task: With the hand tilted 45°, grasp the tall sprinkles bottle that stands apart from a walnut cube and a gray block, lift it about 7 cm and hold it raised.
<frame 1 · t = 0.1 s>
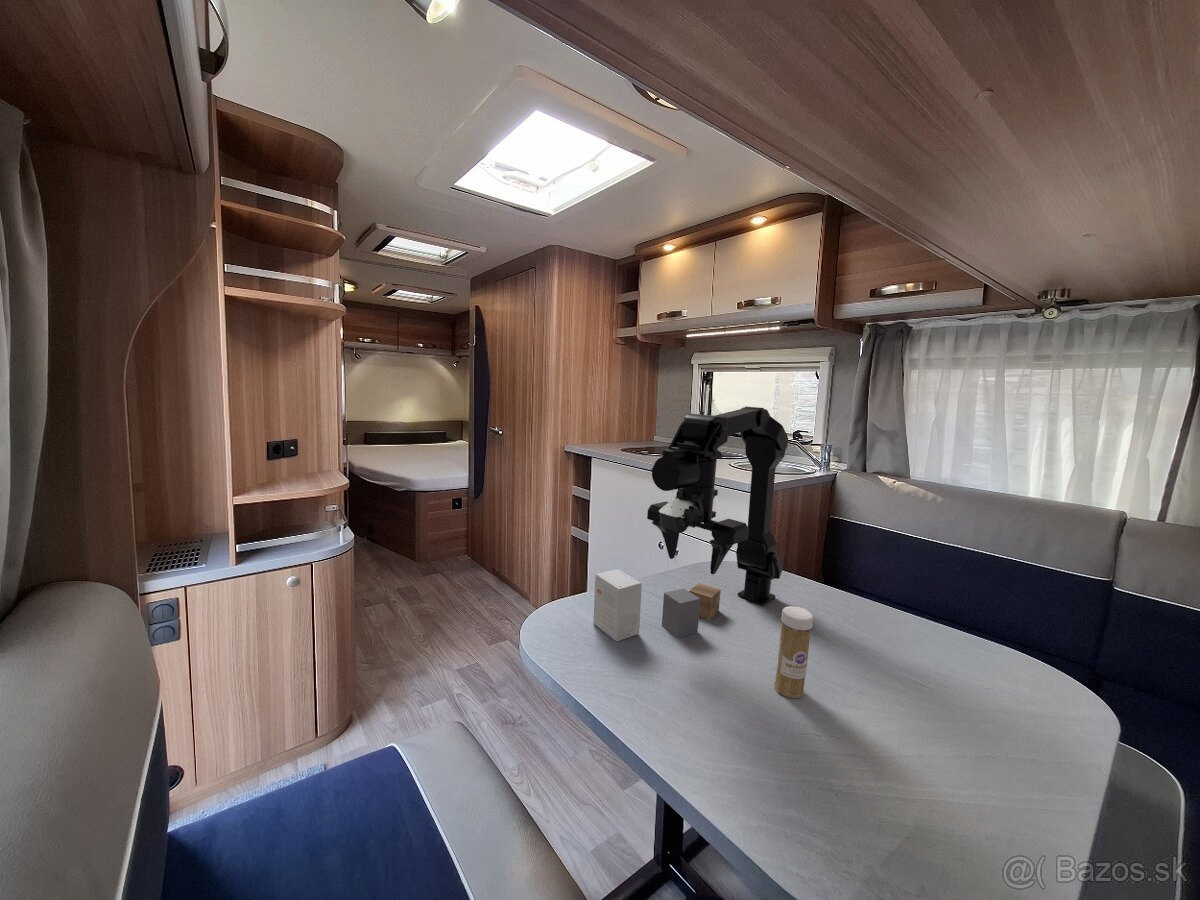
hand: (691, 565, 87), 15 cm above the table, tool pointing down, fingers open, 9 cm apart
walnut cube: (703, 611, 101), on the table
gray block: (679, 628, 93), on the table
sprinkles bottle: (788, 691, 76), on the table
small box: (615, 630, 92), on the table
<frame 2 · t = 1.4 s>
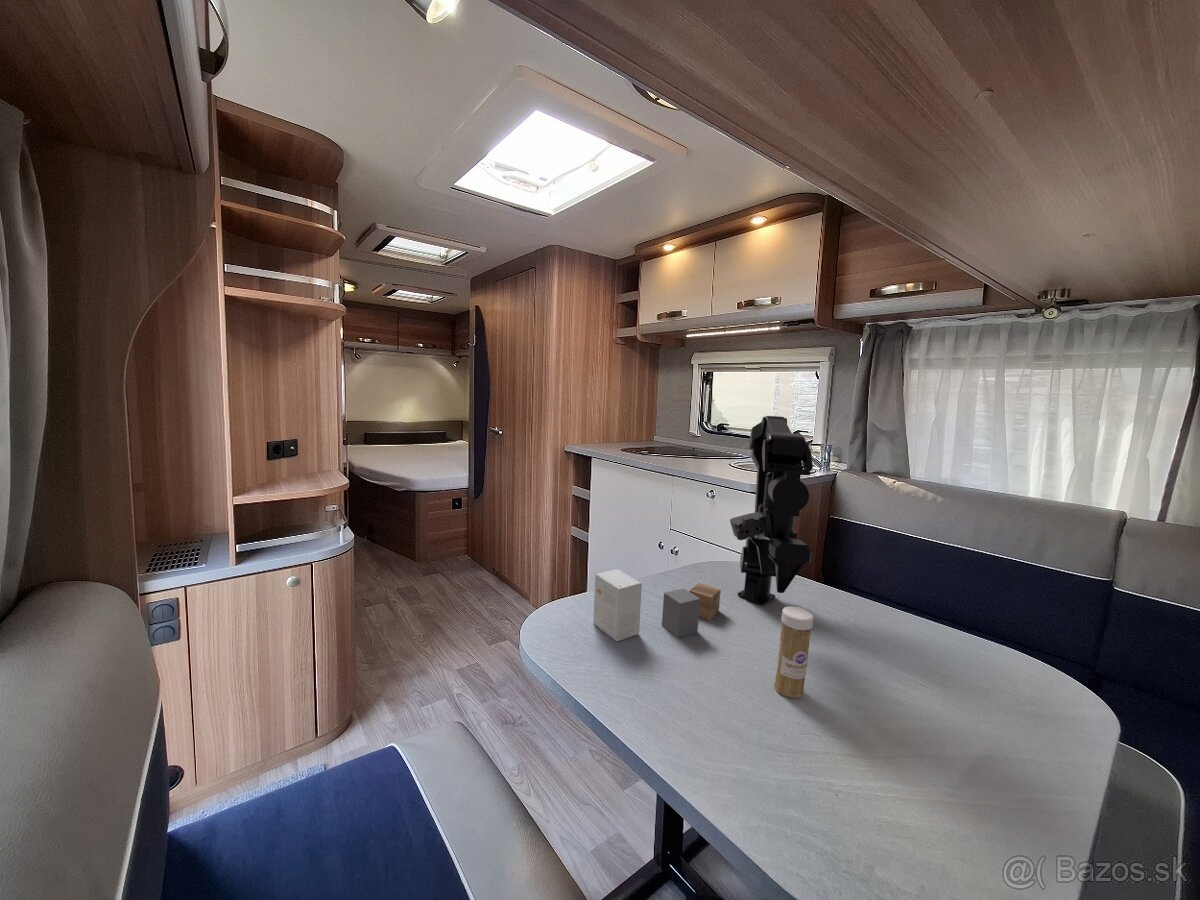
hand: (771, 583, 89), 12 cm above the table, tool pointing down, fingers open, 9 cm apart
nothing on the table moved.
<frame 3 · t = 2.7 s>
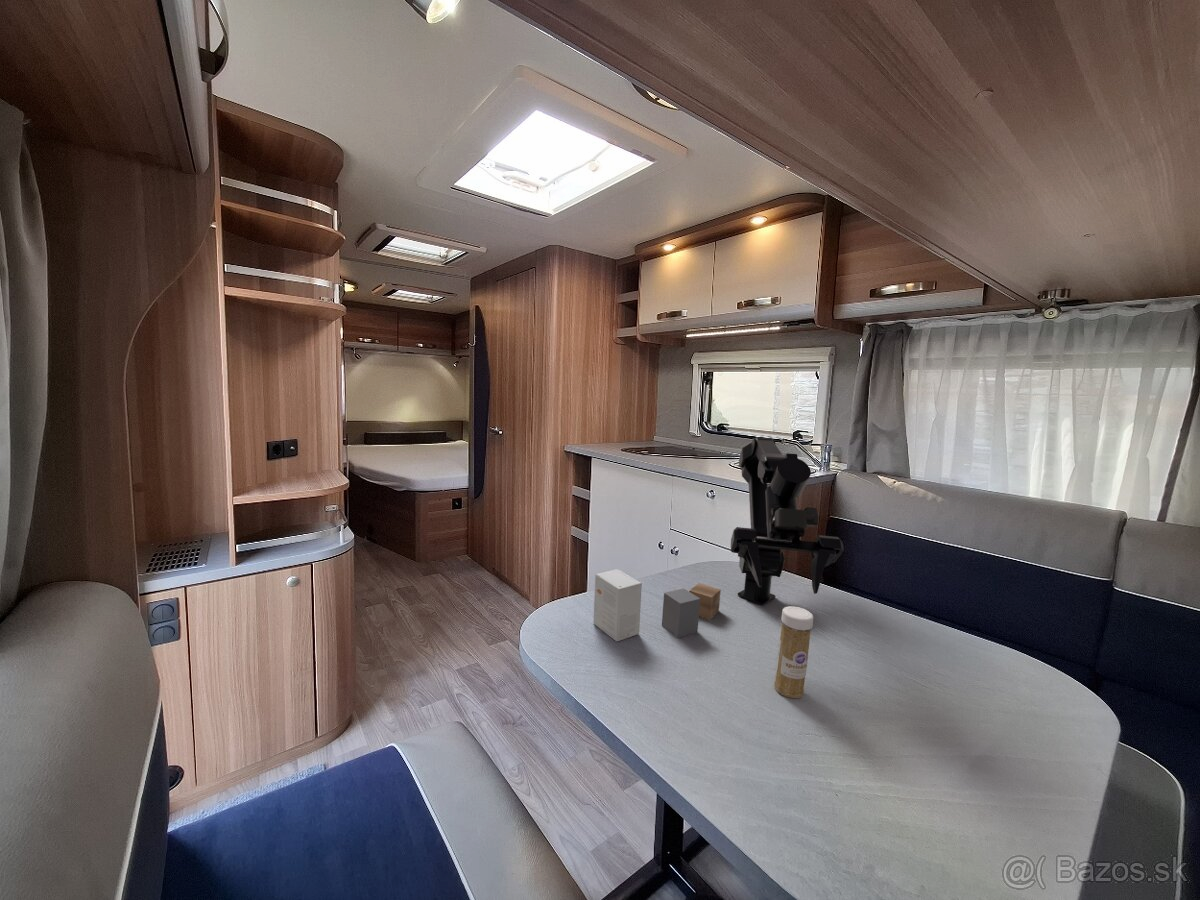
hand: (787, 589, 82), 14 cm above the table, tool tilted 45°, fingers open, 9 cm apart
nothing on the table moved.
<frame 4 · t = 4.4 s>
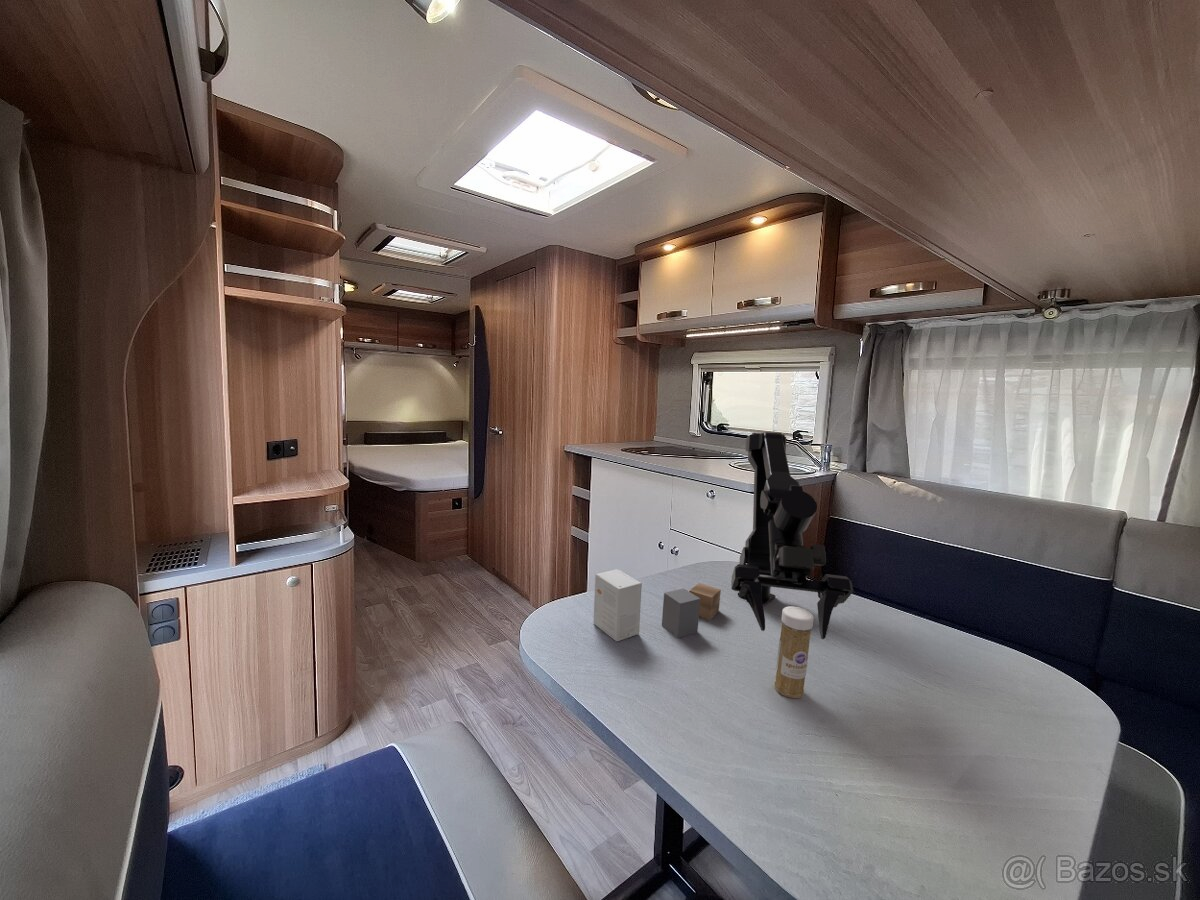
hand: (793, 634, 76), 9 cm above the table, tool tilted 45°, fingers open, 9 cm apart
nothing on the table moved.
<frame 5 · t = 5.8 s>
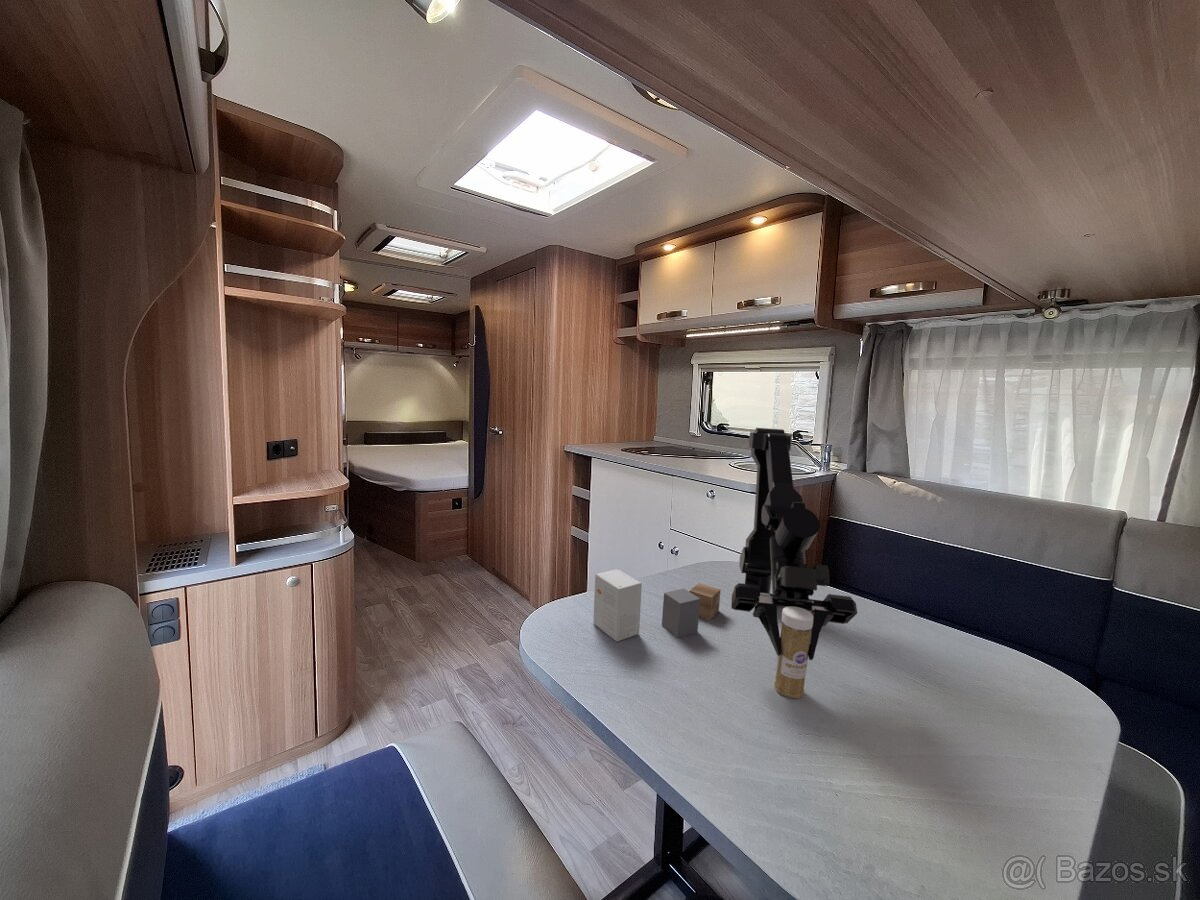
hand: (795, 657, 73), 7 cm above the table, tool tilted 45°, fingers closed on sprinkles bottle, 4 cm apart
sprinkles bottle: (788, 691, 76), on the table, touching gripper
everything else where it was.
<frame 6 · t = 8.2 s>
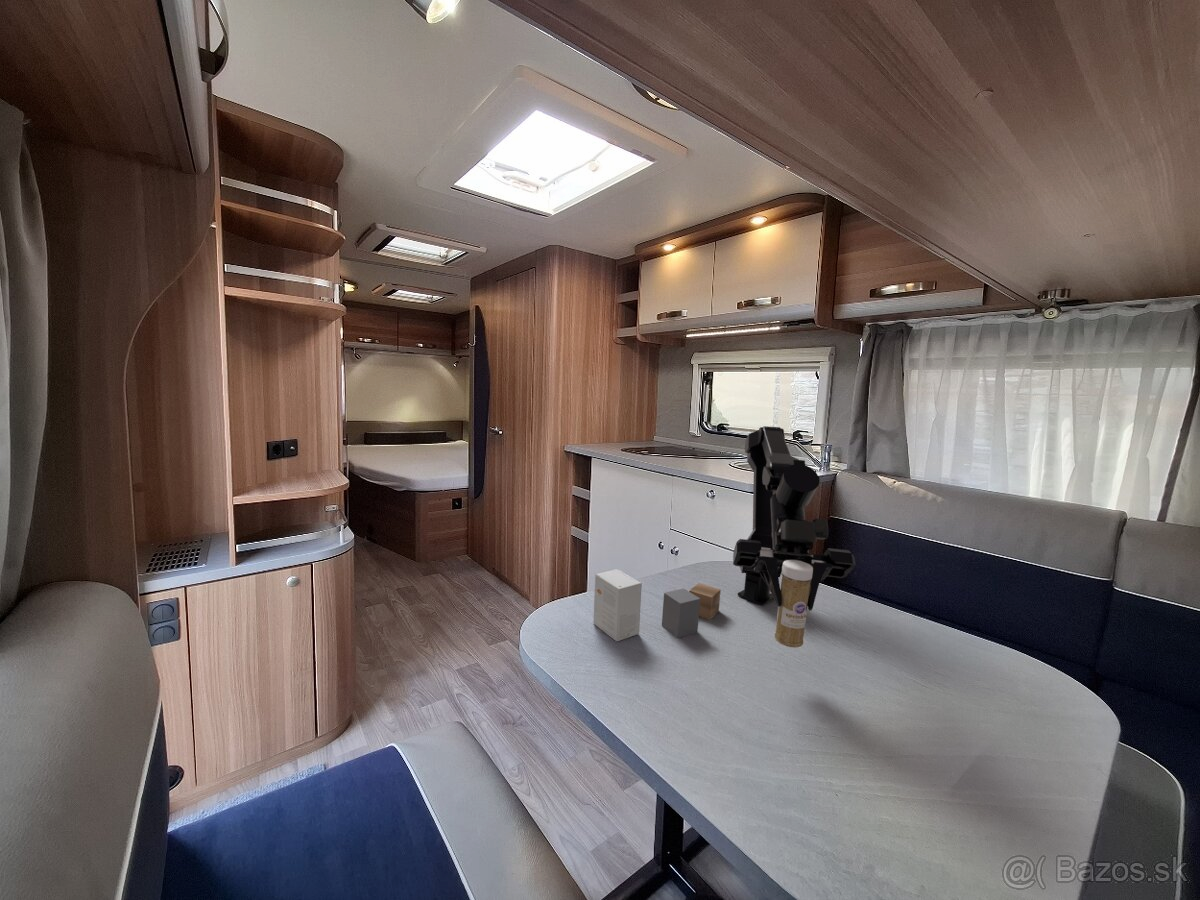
hand: (794, 607, 76), 13 cm above the table, tool tilted 45°, fingers closed on sprinkles bottle, 4 cm apart
sprinkles bottle: (788, 642, 78), point 6 cm above the table, touching gripper
everything else where it was.
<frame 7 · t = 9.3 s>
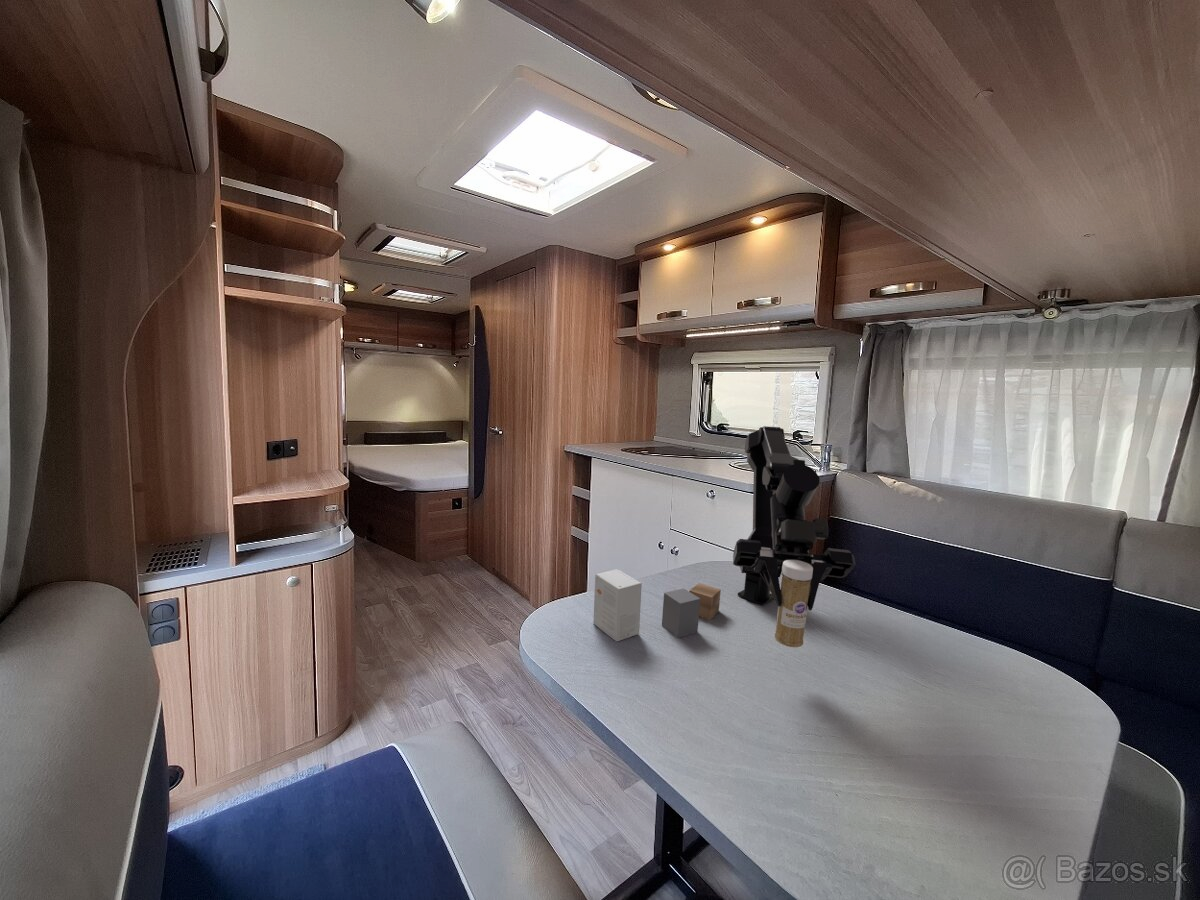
hand: (794, 607, 76), 13 cm above the table, tool tilted 45°, fingers closed on sprinkles bottle, 4 cm apart
sprinkles bottle: (788, 642, 78), point 6 cm above the table, touching gripper
everything else where it was.
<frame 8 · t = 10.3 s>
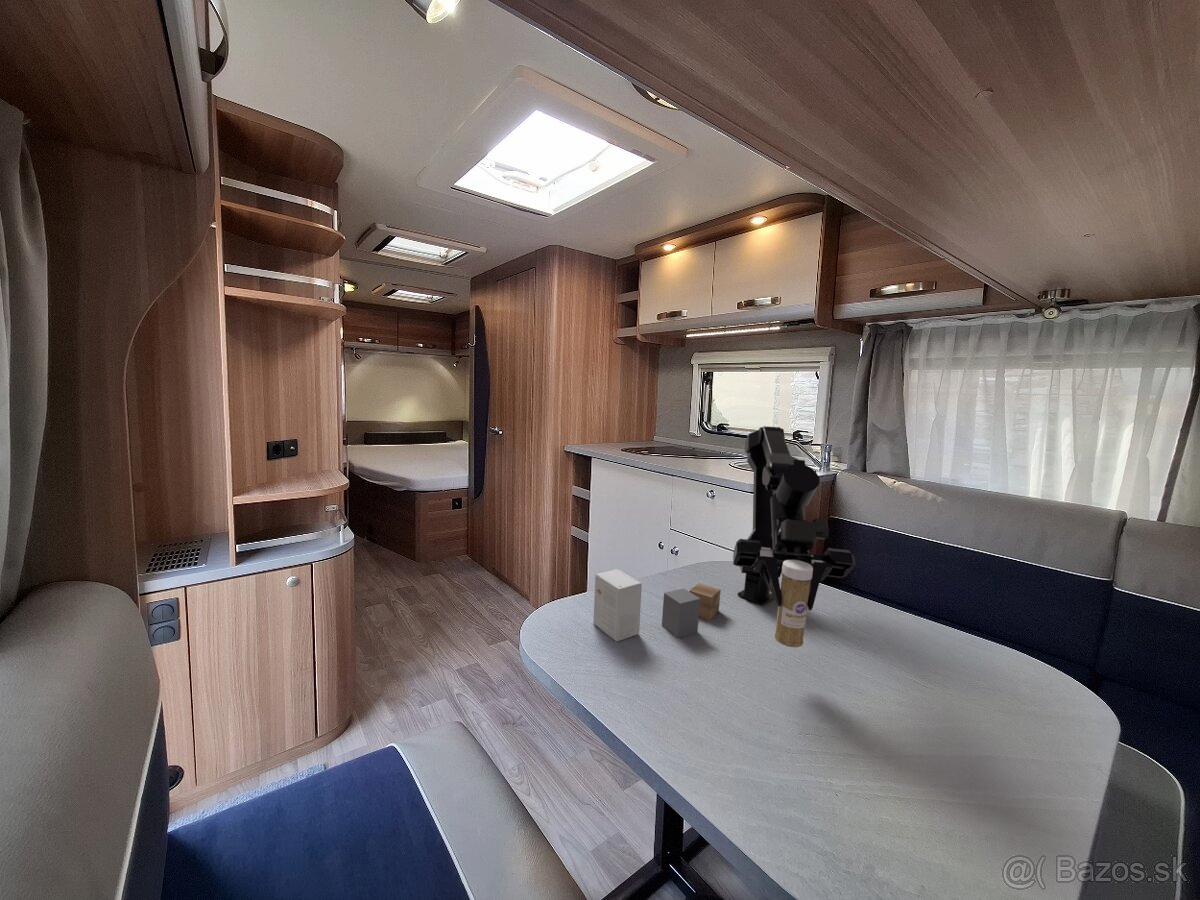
hand: (794, 607, 76), 13 cm above the table, tool tilted 45°, fingers closed on sprinkles bottle, 4 cm apart
sprinkles bottle: (788, 642, 78), point 6 cm above the table, touching gripper
everything else where it was.
at the end: the gripper is holding sprinkles bottle; sprinkles bottle point 6.5 cm above the table; walnut cube moved 0.1 cm from its start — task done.
